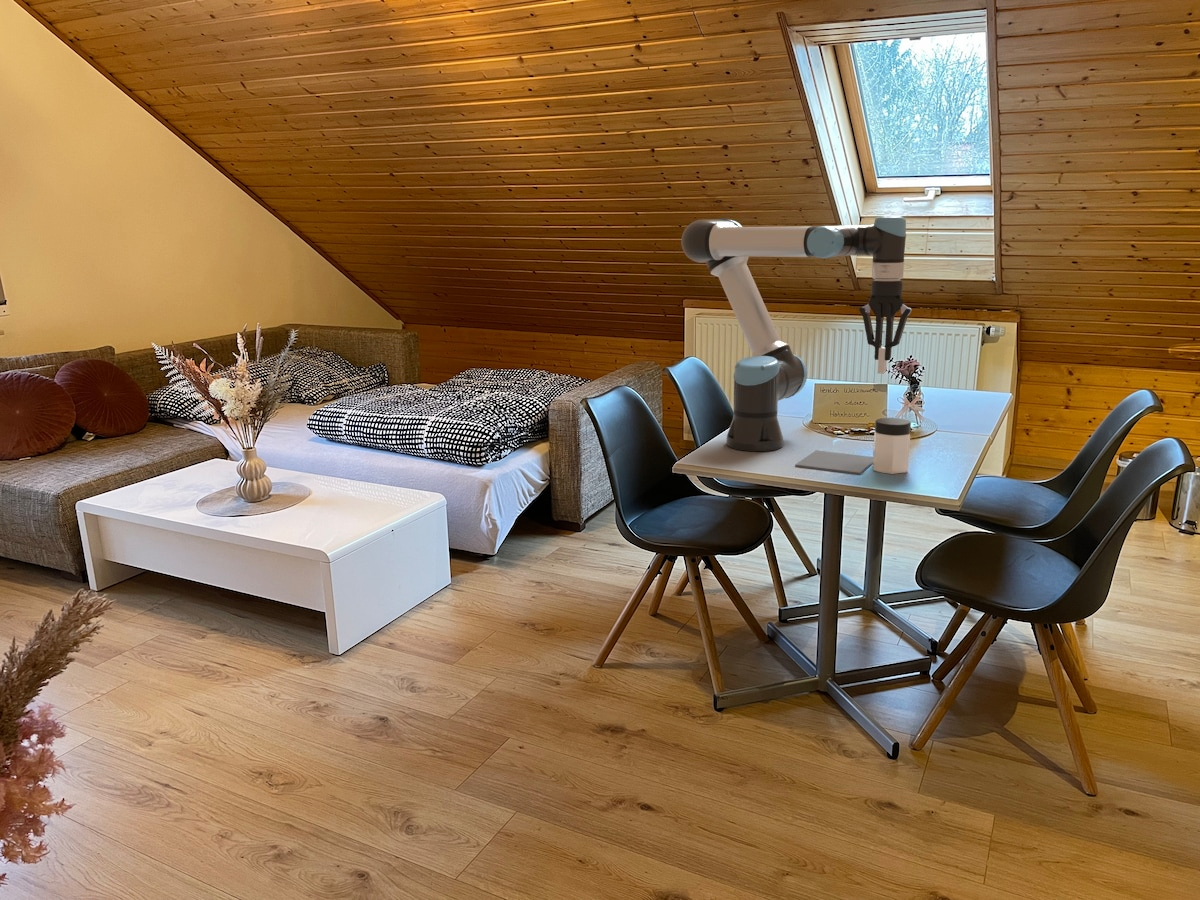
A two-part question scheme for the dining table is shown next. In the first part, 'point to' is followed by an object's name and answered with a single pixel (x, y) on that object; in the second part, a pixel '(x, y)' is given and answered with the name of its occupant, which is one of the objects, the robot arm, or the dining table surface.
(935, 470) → the dining table surface
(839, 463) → the mat
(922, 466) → the dining table surface
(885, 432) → the jar
